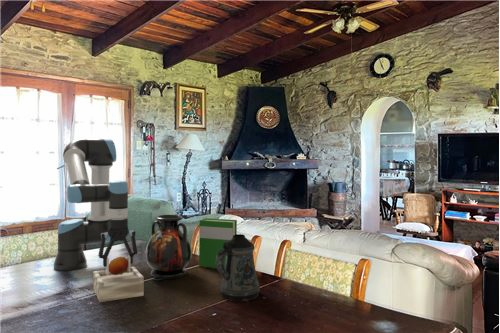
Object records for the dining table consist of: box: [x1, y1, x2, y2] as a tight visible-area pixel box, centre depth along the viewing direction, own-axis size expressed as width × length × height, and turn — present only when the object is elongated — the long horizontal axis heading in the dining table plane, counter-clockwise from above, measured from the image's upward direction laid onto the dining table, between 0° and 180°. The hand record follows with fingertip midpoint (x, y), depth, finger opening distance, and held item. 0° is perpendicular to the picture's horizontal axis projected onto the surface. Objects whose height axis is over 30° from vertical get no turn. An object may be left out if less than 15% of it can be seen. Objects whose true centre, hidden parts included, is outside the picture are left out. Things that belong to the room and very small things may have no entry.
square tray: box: [92, 266, 145, 303], centre depth 169 cm, size 17×17×8 cm
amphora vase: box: [145, 214, 192, 280], centre depth 194 cm, size 22×22×28 cm
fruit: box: [109, 256, 128, 275], centre depth 169 cm, size 8×8×8 cm
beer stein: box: [216, 233, 261, 302], centre depth 167 cm, size 16×19×25 cm
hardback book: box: [198, 217, 238, 269], centre depth 209 cm, size 18×7×24 cm, turn 76°
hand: (118, 272), depth 169 cm, fingers closed on fruit, 8 cm apart
